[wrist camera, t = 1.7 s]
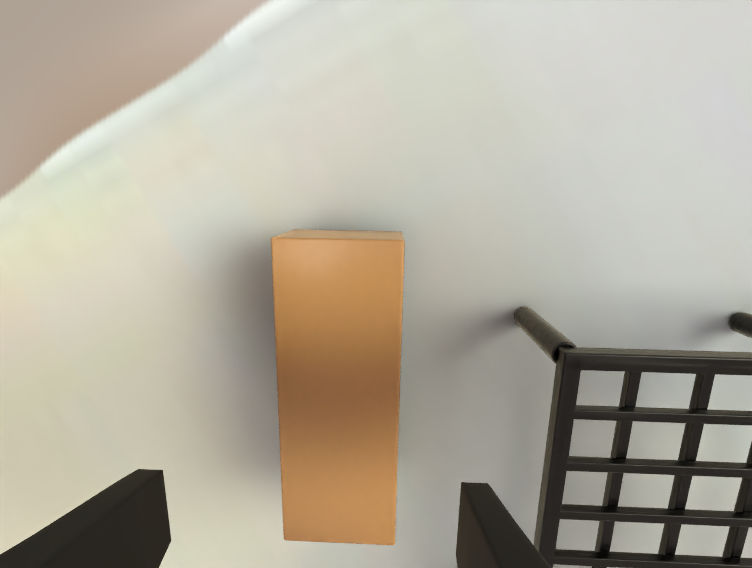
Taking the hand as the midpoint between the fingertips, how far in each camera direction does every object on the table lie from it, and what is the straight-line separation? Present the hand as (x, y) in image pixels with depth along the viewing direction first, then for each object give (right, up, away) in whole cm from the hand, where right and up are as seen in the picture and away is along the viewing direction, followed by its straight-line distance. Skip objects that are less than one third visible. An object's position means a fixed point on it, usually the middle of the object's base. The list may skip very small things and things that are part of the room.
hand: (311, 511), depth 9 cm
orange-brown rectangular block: (0, +2, +9) cm, 9 cm away
